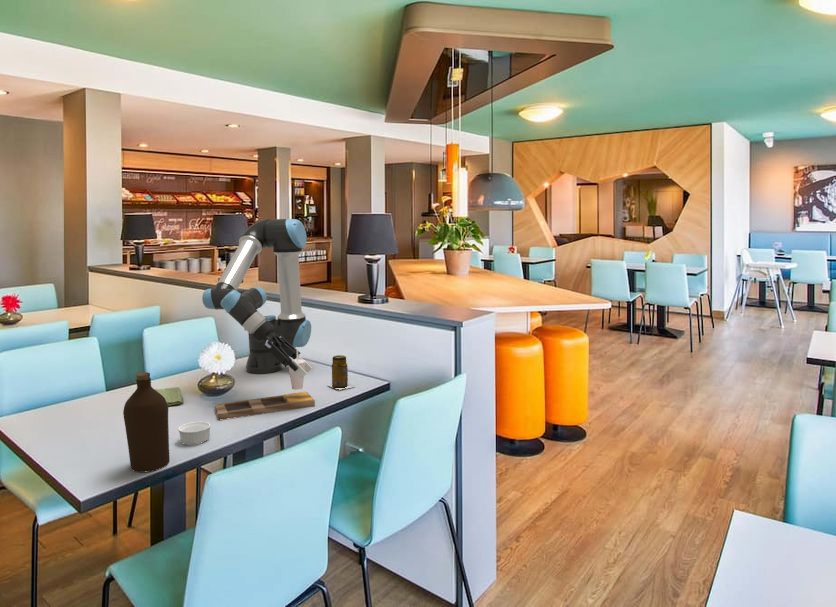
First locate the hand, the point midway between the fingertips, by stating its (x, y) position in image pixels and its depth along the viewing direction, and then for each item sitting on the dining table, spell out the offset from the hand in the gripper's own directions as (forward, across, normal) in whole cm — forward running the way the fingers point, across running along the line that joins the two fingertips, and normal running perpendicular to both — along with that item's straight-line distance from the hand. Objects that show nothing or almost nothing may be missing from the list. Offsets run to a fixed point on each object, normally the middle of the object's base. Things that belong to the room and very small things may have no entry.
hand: (306, 373), depth 198 cm
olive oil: (-13, +51, -29) cm, 60 cm away
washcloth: (-29, -2, -46) cm, 54 cm away
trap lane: (-2, +5, -18) cm, 18 cm away
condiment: (+14, -20, -2) cm, 24 cm away
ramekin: (-10, +34, -26) cm, 44 cm away
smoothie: (+1, 0, -6) cm, 7 cm away
